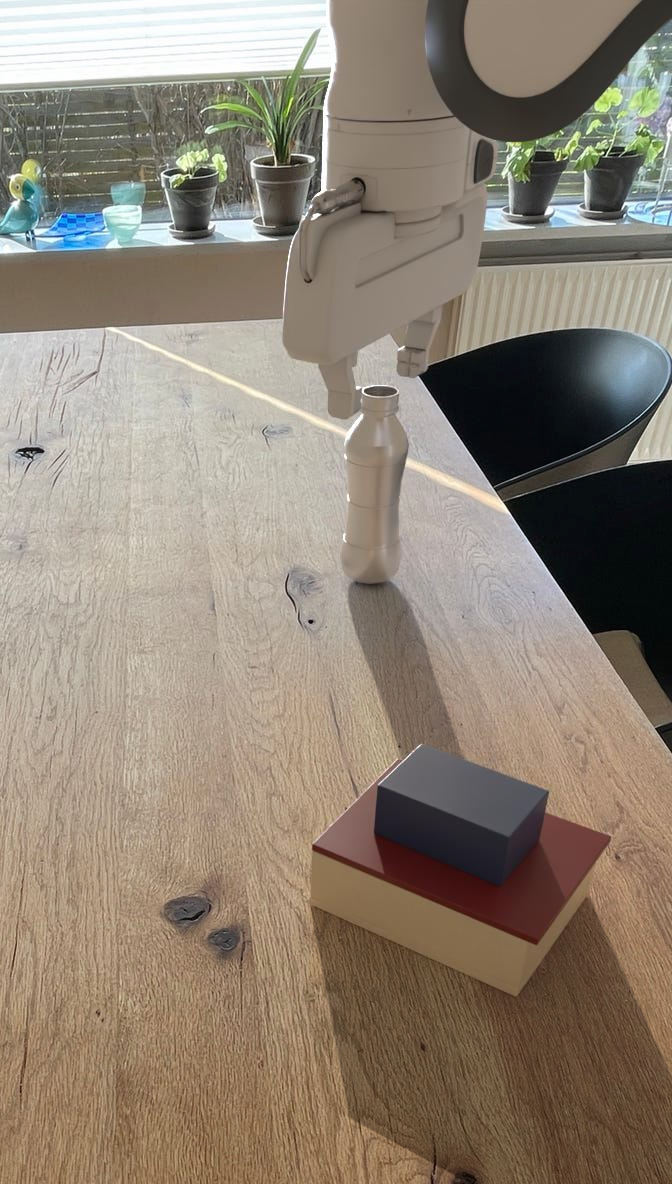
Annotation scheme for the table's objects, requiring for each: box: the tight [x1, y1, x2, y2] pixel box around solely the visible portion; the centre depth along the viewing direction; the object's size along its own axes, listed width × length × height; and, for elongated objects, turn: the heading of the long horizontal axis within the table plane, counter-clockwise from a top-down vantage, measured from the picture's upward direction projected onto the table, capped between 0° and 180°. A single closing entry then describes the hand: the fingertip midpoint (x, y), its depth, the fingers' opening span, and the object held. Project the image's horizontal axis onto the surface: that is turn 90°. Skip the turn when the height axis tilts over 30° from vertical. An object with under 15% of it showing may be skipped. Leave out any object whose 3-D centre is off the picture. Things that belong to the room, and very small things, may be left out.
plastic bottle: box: [339, 384, 410, 585], centre depth 118 cm, size 6×7×20 cm
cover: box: [311, 758, 612, 945], centre depth 81 cm, size 17×13×1 cm
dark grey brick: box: [374, 743, 550, 886], centre depth 80 cm, size 10×6×4 cm, turn 52°
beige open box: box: [309, 850, 597, 998], centre depth 83 cm, size 17×13×5 cm
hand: (379, 394), depth 79 cm, fingers open, 8 cm apart
